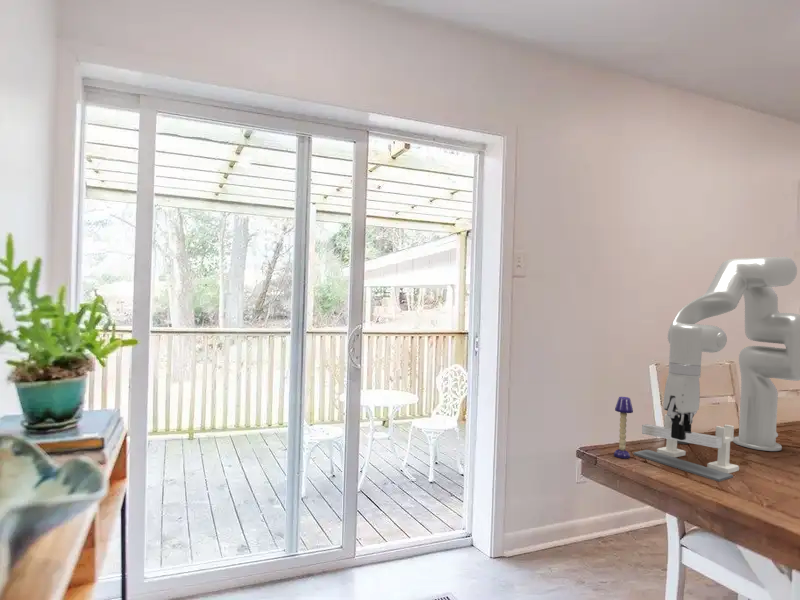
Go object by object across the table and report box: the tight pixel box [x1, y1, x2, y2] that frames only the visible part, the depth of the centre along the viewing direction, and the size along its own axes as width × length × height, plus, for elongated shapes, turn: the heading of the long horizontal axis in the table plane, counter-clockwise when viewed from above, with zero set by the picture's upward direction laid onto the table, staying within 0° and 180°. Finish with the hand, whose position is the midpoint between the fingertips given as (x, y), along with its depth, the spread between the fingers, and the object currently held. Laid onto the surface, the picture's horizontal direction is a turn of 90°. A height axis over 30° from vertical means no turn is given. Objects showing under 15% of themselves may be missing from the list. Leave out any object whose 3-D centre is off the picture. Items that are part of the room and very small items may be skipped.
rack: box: [656, 413, 740, 474], centre depth 139 cm, size 6×19×12 cm, turn 32°
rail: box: [641, 423, 722, 449], centre depth 135 cm, size 2×20×2 cm, turn 32°
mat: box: [632, 449, 734, 482], centre depth 135 cm, size 7×23×1 cm, turn 32°
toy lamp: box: [613, 396, 634, 459], centre depth 141 cm, size 5×5×17 cm
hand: (680, 437), depth 134 cm, fingers closed on rail, 2 cm apart
